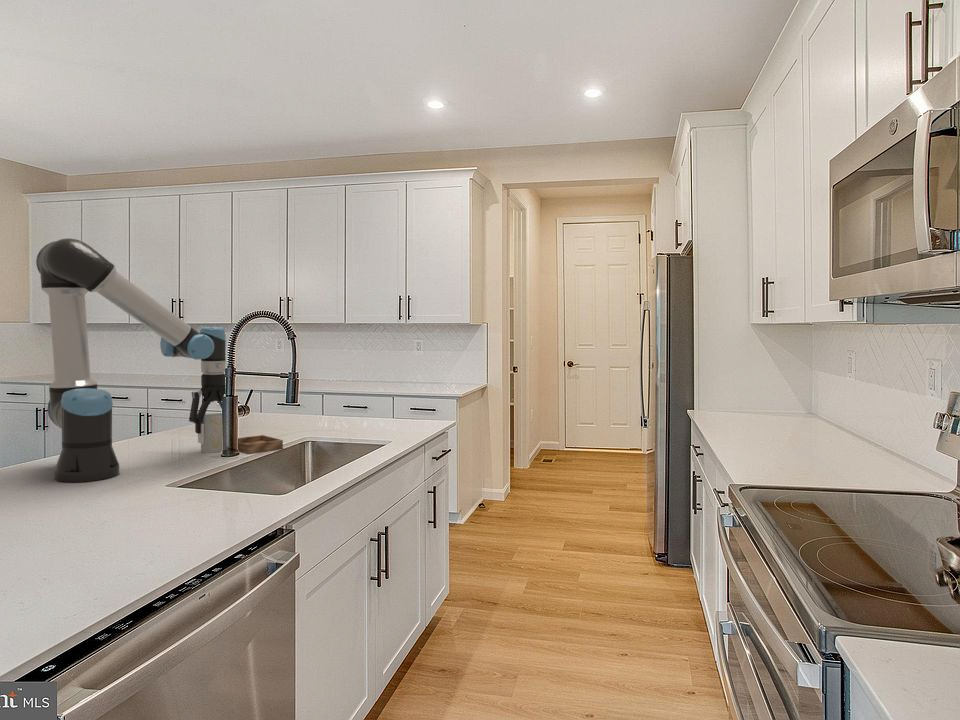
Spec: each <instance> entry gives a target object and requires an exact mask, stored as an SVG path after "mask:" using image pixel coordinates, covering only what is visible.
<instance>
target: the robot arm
mask: <svg viewBox="0 0 960 720" xmlns="http://www.w3.org/2000/svg"><path fill="white" fill-rule="evenodd" d="M35 264H36V268H37V270H38V271H37V272H38V273H39V274H40V285H41V286H40V287H41V290H42V291H43V292H45V294H47V296H48V305H49V316H50V333H51V345H52V357H53V369H54V372H53V373H54V381H52V383H50V384H49V386H48V389H49V390H48V391H49V401H48V404H47V409H46V410H47V415H48V417H49V419H50V420H51V422H52V423H53V424H54V425H55V426H56V427H59V428H60V429H61V452H60V454H59V456H58V460H57V462H56V464H55V468H54V469H53V470H54V471H53V472H54V473H53V475H54V477H53V479H54V480H55V481H58V482H64V483H65V482H66V483H80V482H81V483H82V482H83V483H84V482H94V481H99V480H105V479H110V478H113V477H115V476H116V477H117V475H118V476H119V474H120V462H119V461H118V457H117V456H116V452H115V450H114V448H113V406H114V405H113V399H112V394H111V393H110V392H109V391H107V390H105V389H99V388H98V382H97V381H95V380H94V379H93V378H92V377H91V366H90V365H91V364H90V353H89V352H90V351H89V338H88V337H89V336H88V335H89V334H88V325H87V323H88V322H87V310H86V309H87V307H86V294H88V293H97V294H99V295H101V296H102V297H103V298H105V299H106V300H107V301H109V302H110V303H111V304H113V305H114V306H116V307H118V308H119V309H120V310H122V311H123V312H124V313H126V314H127V315H129V316H130V317H132V318H134V320H136V321H138V323H141V324H142V325H144V326H145V327H146V328H148V329H149V330H151V331H152V332H153V333H155V334H157V335H158V336H159V337H160V345H159V346H160V352H161V354H162V355H163V356H164V357H167V358H168V357H169V358H177V357H179V358H188V359H189V358H190V359H194V360H200V367H201V368H200V372H201V376H200V378H201V379H200V381H201V383H200V386H201V388H200V390H198V391H192V392H191V397H192V400H191V406H190V411H189V417H188V422H190V423H194V428H195V430H194V432H195V434H197V443H199V444H200V445H201V444H203V443H204V424H203V423H201V422H202V420H203V418H204V415H205V414H207V413H206V412H207V410H208V408H209V405H211V403H213V402H217V403H218V404H219V406H220V408H221V410H222V403H221V401H222V398H223V396H225V395H226V393H225V386H226V385H225V375H226V372H225V369H226V367H227V363H226V362H227V361H226V345H227V344H226V342H227V340H226V339H227V337H226V331H225V328H224V327H221V326H203V327H201V328H200V332H199V331H197V330H196V329H195V328H194V327H191V325H189V324H188V323H187V322H186V321H184V320H182V319H181V318H180V317H179V316H177V315H176V314H175V313H173V312H172V311H170V310H169V309H168V308H166V306H163V305H162V304H161V303H160V302H158V301H157V300H156V299H155V298H153V297H151V295H149V294H147V293H146V292H145V291H143V290H142V289H141V288H139V286H136V285H135V284H134V283H133V282H131V281H130V280H128V279H127V278H126V277H125V276H123V275H122V274H121V273H119V272H118V271H117V268H116V265H115V264H113V263H112V262H111V261H109V260H108V259H107V258H106V257H105V256H103V255H102V254H101V253H99V252H98V251H97V250H95V249H94V248H93V247H91V245H89V244H88V243H86V242H84V241H81V240H79V239H76V238H61V239H58V240H55V241H52V242H49V243H47V244H45V245H44V246H43V247H42V248H41V249H40V250H39V252H38V253H37V256H36V261H35ZM226 370H227V369H226ZM224 394H225V395H224ZM201 395H202V396H201ZM201 397H203V398H202V400H201V404H200V399H201ZM199 405H200V407H199Z"/></svg>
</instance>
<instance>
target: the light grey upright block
mask: <svg viewBox="0 0 960 720" xmlns="http://www.w3.org/2000/svg"><path fill="white" fill-rule="evenodd" d="M222 413H223V412H209V413H205V415H204V418H203V420H202V422H201V423H203V424H204V443H203V444H201V443H200V452H201V453H204V454H205V453H206V454H207V453H208V454H216V453H222V452H221V451H222Z"/></svg>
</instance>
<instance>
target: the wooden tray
mask: <svg viewBox="0 0 960 720" xmlns="http://www.w3.org/2000/svg"><path fill="white" fill-rule="evenodd" d="M237 438H238V450H239V451H238V452H239V453H243V454H246V455H250V454H257V453H263V452H270V451H276V450H282V449H283V448H284V445H283V443H284V439H281V438H280V439H279V438H275V437H272V436H268V435H264V434H261V435H260V434H259V435H252V436H244V437H237Z"/></svg>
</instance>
